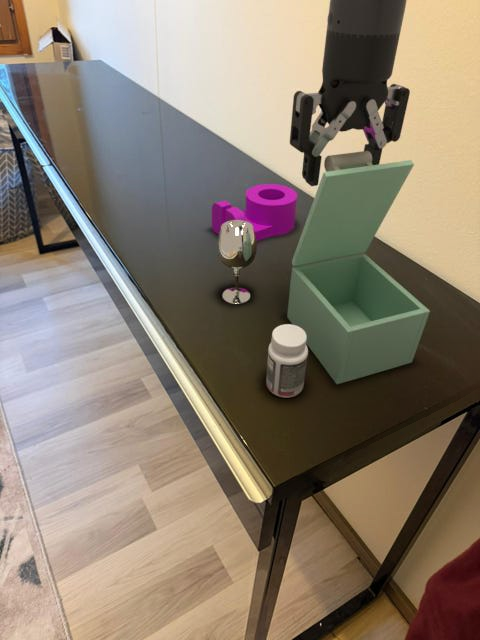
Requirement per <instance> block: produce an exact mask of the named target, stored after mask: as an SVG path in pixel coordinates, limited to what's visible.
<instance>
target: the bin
mask: <svg viewBox="0 0 480 640" xmlns="http://www.w3.org/2000/svg"><path fill="white" fill-rule="evenodd" d="M289 284H290V285H289V295H288V304H287V315H286V318H287V319H288V320H289V323H291V324H292V325H296V326H298V327H300V328H302V329H303V330H304V331H305V333H306V335H307V340H306V345H307V347H308V348H309V349H310V350H311V352H312V353H313V354H314V356H315V357H316V359H317V360H318V361H319V362H320V364H321V365H322V367H323V368H324V369H325V371H326V372H327V374H328V375H329V376H330V377H331V379H332V380H333V382H334V383H335V384H336V385H340V384H344V383H347V382H351V381H353V380H357V379H360V378H364V377H367V376H371V375H375V374H377V373H382V372H384V371H388V370H390V369H391V370H392V369H394V368H395V369H396V368H399V367H401V366H405V365H408V364H411V363H413V361H414V358H415V355H416V353H417V349H418V346H419V344H420V341H421V338H422V336H423V332H424V330H425V327H426V324H427V321H428V318H429V315H430V312H431V311H430V309H429V308H428V307H426V306H425V305H424V304H423V303H422V302H421V301H419V299H417V298H416V297H415V296H414V295H413V294H411V293H410V292H409V291H408V290H407V289H406V288H404V286H402V285H401V284H400V283H399V282H397V281H396V280H395V279H394V278H393V277H392V276H391V275H390V274H388V272H386V271H385V270H384V269H383V268H382V267H381V266H379V265H378V264H377V263H376V262H375V261H374V260H372V259H371V258H370V257H369V256H368V255H367V254H366V253H365V252H363V253H358V254H353V255H348V256H343V257H338V258H333V259H328V260H323V261H318V262H313V263H309V264H304V265H299V266H292V267H291V274H290V283H289Z"/></svg>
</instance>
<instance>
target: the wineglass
mask: <svg viewBox="0 0 480 640" xmlns="http://www.w3.org/2000/svg"><path fill="white" fill-rule="evenodd" d="M216 245H217V247H216V248H217V249H216V250H217V256H218V258H219V261H220V262H221V263H222V264H223V265H224V266H226V267H228V268H231V269H233V271H232V272H233V275H234V287H229V288H226V289H225V290H224V291H222V295H221V296H222V299H223V300H224V301H225V302H226V303H229V304H233V305H242V304H245V303H247V302H248V301H249V300H250V299H251V293H250V291H249V290H248V289H246V288H243V287H239V278H240V275H241V274H240V273H241V269H244V268H246V267H249V266H250V265H251V264H252V263H253V262H254V260H255V258H256V255H257V248H258V247H257V246H258V245H257V241H256V236H255V231H254V227H253V225H252V224H251V223H249V222H247V221H243V220H231V221H227V222H225V223H223V224H222V226H221V229H220V233H219V235H218V237H217V244H216Z"/></svg>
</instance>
